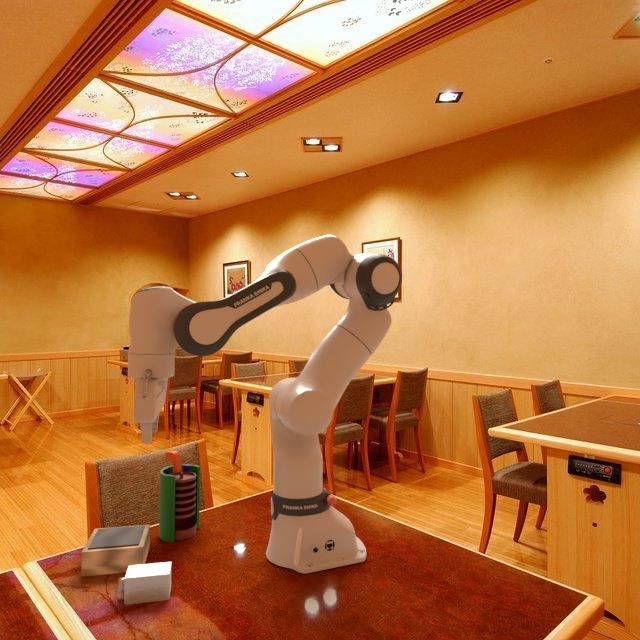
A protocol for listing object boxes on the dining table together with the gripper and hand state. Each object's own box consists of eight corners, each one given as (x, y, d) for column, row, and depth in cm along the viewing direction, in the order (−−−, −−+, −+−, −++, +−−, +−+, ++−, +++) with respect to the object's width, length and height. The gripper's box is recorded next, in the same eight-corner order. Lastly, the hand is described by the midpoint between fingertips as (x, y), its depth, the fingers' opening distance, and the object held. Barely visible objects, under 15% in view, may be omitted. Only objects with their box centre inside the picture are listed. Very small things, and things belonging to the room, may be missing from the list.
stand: (149, 546, 118) (149, 523, 118) (143, 570, 106) (143, 545, 106) (94, 550, 115) (94, 527, 115) (81, 576, 104) (81, 550, 104)
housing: (171, 586, 100) (171, 561, 100) (169, 600, 95) (169, 574, 95) (120, 592, 98) (121, 566, 98) (116, 606, 93) (116, 579, 93)
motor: (185, 543, 119) (185, 458, 119) (150, 540, 121) (151, 456, 121) (203, 526, 129) (204, 448, 129) (171, 524, 131) (171, 446, 131)
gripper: (162, 372, 91) (161, 449, 91) (172, 363, 111) (170, 426, 111) (125, 372, 90) (123, 450, 90) (142, 363, 110) (140, 427, 110)
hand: (149, 437), depth 101 cm, fingers open, 8 cm apart
